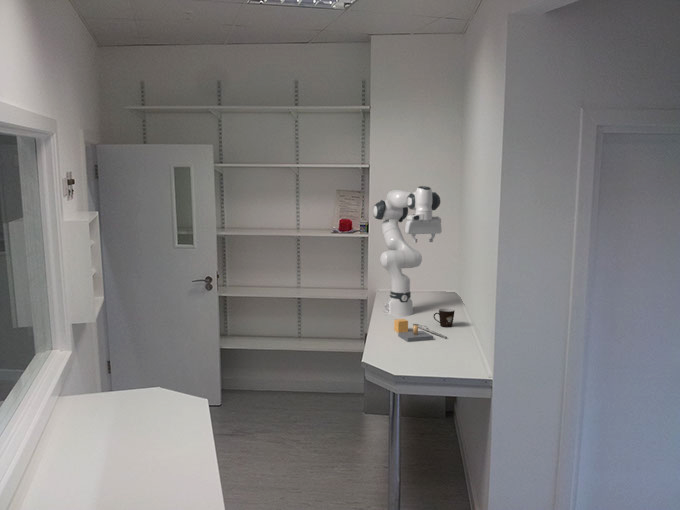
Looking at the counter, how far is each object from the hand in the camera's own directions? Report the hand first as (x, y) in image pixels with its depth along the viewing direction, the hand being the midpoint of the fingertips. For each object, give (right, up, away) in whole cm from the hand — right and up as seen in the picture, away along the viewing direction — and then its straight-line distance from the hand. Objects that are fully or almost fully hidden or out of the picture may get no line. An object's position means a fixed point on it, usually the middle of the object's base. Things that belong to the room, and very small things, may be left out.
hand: (423, 242), depth 318 cm
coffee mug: (+12, -47, +8) cm, 49 cm away
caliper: (+6, -48, -2) cm, 49 cm away
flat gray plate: (-6, -50, -16) cm, 52 cm away
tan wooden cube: (-12, -48, -1) cm, 49 cm away
